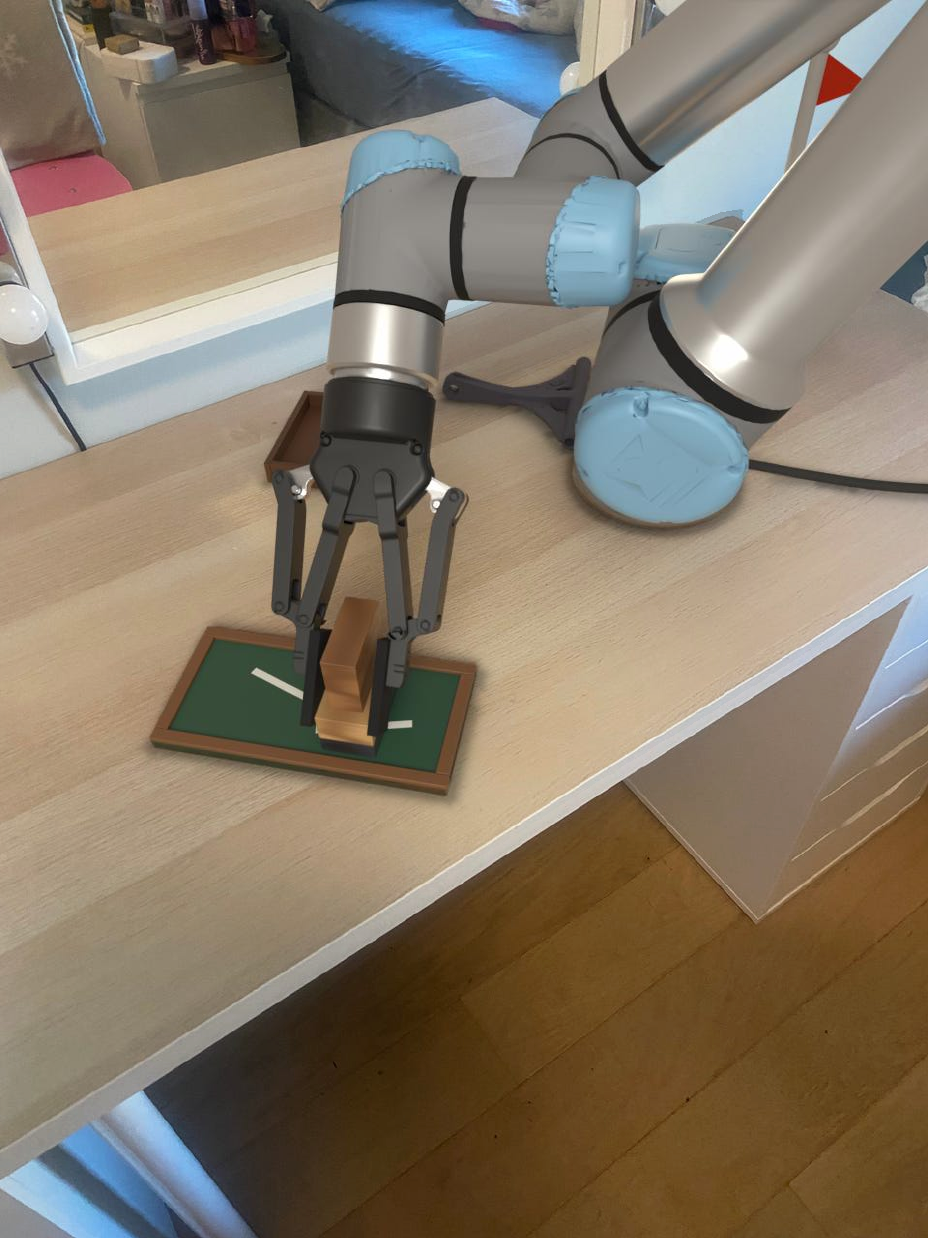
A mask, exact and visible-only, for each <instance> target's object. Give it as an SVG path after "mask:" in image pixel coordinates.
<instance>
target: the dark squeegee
mask: <svg viewBox="0 0 928 1238" xmlns="http://www.w3.org/2000/svg"><path fill="white" fill-rule="evenodd" d="M591 368H592V361H591V359H590V358H589V357H587V356H580V357H579V358H577V360H576V362H575V364H571V365H570V366H569V367H568V368H567V369H566V370H565V371H563V372H561V373H560V374H558V375H556V376H554V377H553V378H550V379H548V380H545V381H542V382H539V383H537V384H530V385H523V386H508V385H502V384H498V383H493V382H489V381H486V380H483V379H479V378H476V377H473V376H469V375H467V374H464V373H462V372H460V371H459V372H458V371H452V372H450V373H449V374H447V375H446V377H445V378H444V381H443V384H442V389H441V391H442V393H443V395H444V396H445V397H446V398H448V399H450V400H452V401H457V402H468V403H469V402H470V403H480V404H488V405H489V404H491V405H502V406H511V407H512V406H513V407H521V408H524V409H526V410H528V411H530V412H532V413H534V414H535V415H537V417H539V418H540V419H541V420H542V421H544V423H545V424H547V426H548V427H549V428H550V429H551V431H552V433H553V434H554V436H555V438H556V439H557V441H558V442H561V446H562V447H563V448H564V449H565V450H568V451H569V450H570V451H571V450H572V451H573V450H574V441H575V421H576V418H577V415H578V413H579V411H580V409H581V408H582V406H583V402H584V399H585V395H586V391H587V388H588V384H589V380H590V376H591V370H592V369H591ZM453 386H454V387H453ZM561 411H566V413H564V412H561Z"/></svg>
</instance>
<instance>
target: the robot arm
mask: <svg viewBox="0 0 928 1238" xmlns="http://www.w3.org/2000/svg"><path fill="white" fill-rule="evenodd" d="M892 1H893V0H684V1H683V2H682V3H681V4H679V5H677V7H676V8H675V9H673V10H672V11H671V12H670V13H669V14H668V15H666V16H665V17H664V18H662V20H661V21H659V22H658V23H657V24H656V25H655V26H653V27H652V28H651V29H650V30H649V31H648V32H647V33H646V34H644V35H643V36H642V37H641V38H640V39H639V40H637V41H636V42H635V43H634V44H633V45H631V46H630V47H629V48H627V50H626V51H624V52H623V53H622V54H621V55H620V56H619V57H617V58H616V59H614V61H613V62H611V63H610V64H609V65H608V66H607V67H606V69H605V70H603V71H602V72H601V73H599V75H597V76H596V77H594V78H592V79H591V80H590V81H589V82H588V83H587V84H586V85H582V86H579V87H576V88H572V89H570V90H568V91H567V92H565V93H563V94H562V95H560V96H559V97H558V98H557V99H556V100H554V102H553V103H552V104H551V105H550V107H549V108H548V109H547V110H546V111H545V112H544V113H542V115H541V116H540V118H539V120H538V123H537V125H536V127H535V128H534V129H533V132H532V135H531V138H530V141H529V144H528V146H527V148H526V150H525V152H524V154H523V156H522V159H521V160H520V162H519V164H518V166H517V167H516V168H517V169H516V171H515V173H514V174H513V176H493V177H490V176H488V177H487V176H486V177H485V176H483V177H482V176H480V177H479V176H476V175H474V176H473V175H469V176H468V175H466V174H463V173H462V172H463V169H462V168H463V167H462V161H461V159H460V158H461V157H460V156H459V154H458V152H456V150H455V149H454V148H453V147H452V146H450V145H449V144H448V143H446V142H445V141H443V140H441V139H440V138H437V137H435V136H433V135H430V134H418V133H414V132H412V131H411V130H409V129H384V130H379V131H376V132H373V133H371V134H368V135H366V136H365V137H363V138H362V139H361V140H360V141H359V142H358V143H357V144H356V145H355V146H354V149H353V150H352V153H351V155H350V160H349V167H348V173H347V177H346V183H345V190H344V196H343V199H342V202H341V204H340V215H339V218H340V229H339V230H340V231H339V241H338V253H337V254H338V255H337V267H336V275H335V276H336V278H335V287H334V288H335V289H334V297H333V304H332V313H331V320H330V330H329V339H328V345H327V346H328V347H327V356H326V357H327V358H326V365H325V369H326V370H327V372H328V373H329V374H330V375H331V376H333V378H330V379H328V381H327V383H325V384H324V386H323V392H324V394H323V404H322V413H321V423H320V435H319V445H318V448H317V450H316V452H315V453H314V455H313V456H312V458H311V460H310V464H309V465H306V466H303V467H300V468H296V469H293V470H290V471H284V470H281V469H278V470H276V471H274V472H273V473H272V476H271V481H272V483H271V485H272V488H273V493H274V496H275V499H276V503H277V510H276V511H277V513H276V515H277V516H276V527H275V541H274V542H275V543H274V558H273V570H272V571H273V573H272V587H271V588H272V589H271V604H270V608H271V611H272V613H273V614H274V615H275V616H281V617H283V618H285V619H287V620H288V621H290V622H292V624H293V625H294V627H295V639H296V640H295V650H294V651H295V652H294V659H293V669H294V672H295V674H302V675H305V681H304V691H303V700H302V709H301V719H300V726H307V727H312V726H314V725H316V722H315V715H316V712H317V710H318V707H319V704H320V702H321V699H322V696H323V694H324V691H325V684H324V680H323V675H322V671H321V666H320V660H321V658H322V655H323V653H324V650H325V648H326V645H327V642H328V640H329V637H330V635H331V632H332V630H333V628H331V629H330V628H324V627H322V628H321V626H323V625H325V624H326V622H327V621H328V620H327V619H325V616H326V613H327V610H328V607H329V605H330V600H331V597H332V594H333V592H334V588H335V584H336V581H337V578H338V576H339V571H340V569H341V565H342V562H343V559H344V556H345V552H346V549H347V546H348V544H349V540H350V537H352V534H353V533H354V531H355V527H356V524H357V523H358V524H361V523H367V522H369V523H372V524H374V525H377V530H378V536H379V539H380V544H381V553H382V565H383V566H382V567H383V578H384V588H385V599H386V601H385V602H386V611H387V622H388V623H387V624H388V632H386V636H384V637H385V638H381V639H377V647H376V656H375V665H374V674H373V683H372V692H371V702H370V711H369V720H368V729H367V736H373V737H379V736H380V735H381V734H383V733H384V732H386V731H387V730H388V722H389V713H390V704H391V695H392V687H396V688H400V687H402V686H404V685H405V683H406V681H407V679H408V673H409V664H410V655H411V654H412V646H413V642H414V640H415V639H416V638H417V637H421V636H425V635H429V634H432V633H435V632H438V631H439V630H440V629H441V628H442V627H441V626H442V621H443V615H444V608H445V602H446V595H447V589H448V582H449V575H450V571H451V570H450V569H451V564H452V563H451V562H452V556H453V550H454V543H455V538H456V537H455V536H456V530H457V525H458V523H459V521H460V519H461V517H462V515H463V514H464V512H465V510H466V508H467V507H468V506H469V502H470V498H469V497H470V496H469V495H468V494H467V493H466V492H465V491H464V490H462V489H461V488H459V487H456V486H453V487H452V486H450V485H449V484H447V483H445V482H443V481H441V480H439V479H438V478H436V472H435V470H434V467H433V465H432V461H431V450H432V441H433V440H432V439H433V432H434V423H435V415H436V414H435V413H436V406H437V405H436V404H437V399H436V398H435V397H434V394H433V393H432V392H431V391H429V390H431V389H433V388H434V387H436V386H437V385H438V383H439V377H440V368H441V358H442V349H443V342H444V333H445V332H444V331H445V325H446V317H447V316H446V311H447V308H448V304H449V301H465V302H487V303H503V304H515V305H516V304H517V305H530V306H544V307H555V308H556V307H557V308H560V309H567V310H572V309H578V308H581V307H608V310H607V316H606V320H605V324H604V327H603V330H602V335H601V338H600V343H599V346H598V349H597V352H596V356H595V358H594V362H593V365H592V369H591V372H590V376H589V381H588V387H587V391H586V395H585V399H584V402H583V406H582V408H581V409H580V411H579V413H578V415H577V418H576V421H575V441H574V449H573V462H572V463H573V464H572V479H573V483H574V486H575V488H576V490H577V492H578V494H579V495H580V496H581V498H582V499H583V500H584V502H586V503H587V504H588V505H589V506H590V507H591V508H593V509H594V510H595V511H596V512H598V513H600V514H601V515H603V516H605V517H606V518H609V519H611V520H613V521H616V522H617V523H621V524H623V525H627V526H631V527H635V528H639V529H646V530H653V531H655V530H656V531H668V530H673V531H674V530H680V529H681V530H682V529H687V528H692V527H695V526H698V525H701V524H704V523H707V522H708V521H711V520H712V519H714V518H716V517H717V516H719V514H721V513H723V512H724V511H725V510H726V508H727V507H729V505H730V504H731V502H732V501H733V499H734V498H735V497H736V495H737V494H738V493H739V491H740V489H741V487H742V485H743V482H744V480H745V477H746V475H747V474H748V471H749V470H751V471H757V472H764V473H769V474H775V475H779V476H784V477H788V478H789V477H790V478H795V479H802V480H808V481H813V482H820V483H825V484H830V485H837V486H844V487H848V488H849V487H851V488H856V489H857V488H858V489H865V490H872V491H873V490H874V491H883V492H892V493H893V492H895V493H905V494H925V495H928V483H919V482H918V483H917V482H904V481H903V482H902V481H892V480H891V481H889V480H881V479H870V478H863V477H854V476H847V475H841V474H835V473H831V472H829V473H828V472H823V471H819V470H818V471H817V470H812V469H806V468H800V467H793V466H788V465H785V464H784V465H783V464H780V463H779V464H778V463H773V462H768V461H762V460H756V459H750V455H749V452H750V450H751V448H752V447H753V446H754V445H755V444H756V443H757V442H758V440H760V439H761V438H762V437H763V436H764V435H765V434H766V433H767V432H768V431H769V430H770V429H771V428H772V427H773V426H775V425H776V424H777V423H778V422H779V421H780V420H781V419H782V418H783V417H784V416H785V415H786V414H787V413H788V412H789V411H790V410H792V408H793V407H794V406H795V405H796V404H798V402H799V401H800V400H801V399H802V398H803V396H804V395H805V394H804V393H805V391H806V370H805V369H806V368H805V366H806V362H807V360H809V358H810V357H812V356H813V354H815V353H816V352H817V351H818V349H819V348H821V347H822V345H824V344H825V343H826V342H827V341H828V340H829V338H831V337H832V336H833V335H834V334H835V333H836V332H837V331H838V330H839V329H840V328H841V327H842V326H843V325H844V324H845V323H846V322H847V321H848V320H849V319H850V318H851V317H852V316H853V315H854V314H856V312H857V311H858V310H859V309H860V308H861V307H862V306H863V305H864V304H865V303H866V302H867V301H868V300H869V299H870V298H871V297H873V295H874V294H876V292H878V290H880V288H882V286H883V285H884V284H885V283H886V282H888V280H890V278H892V276H894V274H896V273H897V272H898V270H900V269H901V268H902V267H903V266H904V265H905V264H906V262H908V261H909V260H910V259H911V257H913V256H914V255H915V254H916V253H917V252H918V251H919V250H920V249H921V248H922V247H923V246H924V245H925V244H926V243H927V242H928V0H925V1H924V2H923V3H922V5H921V6H920V7H919V8H918V10H917V11H916V12H915V13H914V15H913V16H912V17H911V19H910V20H909V21H908V22H907V23H906V25H904V27H903V28H902V30H901V31H900V32H899V33H898V34H897V35H896V36H895V38H894V39H893V41H891V43H890V44H889V45H888V46H887V48H886V49H885V50H884V51H883V53H881V55H880V56H879V58H878V59H877V60H876V61H875V63H874V64H873V65H872V66H871V68H870V69H869V70H868V71H867V73H865V75H864V76H863V77H862V80H861V81H860V82H859V84H858V85H857V86H856V87H855V88H854V90H853V91H852V92H851V93H850V94H848V96H847V97H846V98H845V100H844V101H843V102H842V103H841V104H840V105H839V107H838V108H837V109H836V110H835V112H834V113H833V114H832V115H831V117H830V118H829V119H828V120H827V122H826V123H825V124H824V125H823V127H822V128H821V129H820V130H819V131H818V132H817V134H816V135H815V136H814V137H813V138H812V139H811V141H810V143H809V144H808V145H806V147H805V150H804V151H803V152H802V154H801V155H800V156H799V157H798V158H797V160H796V161H795V162H794V163H793V165H792V166H791V167H790V168H789V170H788V171H787V172H786V173H785V174H784V176H783V175H782V177H781V178H780V179H779V181H778V182H777V183H776V184H775V185H774V186H773V187H772V189H771V190H770V192H768V194H767V195H766V196H765V198H764V199H763V200H762V202H760V204H759V205H758V206H757V207H756V209H755V210H754V211H753V212H752V214H751V215H750V216H749V217H748V219H747V220H746V221H745V222H744V224H743V225H742V226H741V227H740V228H739V229H738V230H733V229H730V228H726V227H721V226H717V225H711V224H704V223H694V222H667V223H658V224H652V225H651V224H650V225H646V226H642V227H641V212H642V211H641V209H642V208H641V205H642V204H641V193H640V191H639V190H638V187H639V186H641V185H642V184H643V183H644V182H646V181H647V180H649V179H650V178H651V177H652V176H654V175H655V174H656V173H658V172H660V171H661V170H662V169H663V168H665V167H666V165H668V164H670V162H672V161H674V160H675V159H676V158H677V157H678V156H680V155H681V154H683V153H684V152H685V151H687V150H689V149H690V148H691V147H692V146H694V145H695V144H696V143H698V142H699V141H701V140H702V139H703V138H705V137H706V136H708V135H710V134H711V133H712V132H713V131H715V130H716V129H717V128H718V127H720V126H721V125H723V124H724V123H725V122H727V121H728V120H729V119H731V118H733V116H735V115H736V114H738V113H740V112H741V111H742V110H743V109H745V108H746V107H748V106H749V105H750V104H752V103H753V102H754V101H755V100H757V99H758V98H760V97H761V96H763V95H764V94H765V93H767V92H768V91H770V90H771V89H772V88H774V87H775V86H776V85H777V84H779V83H780V82H782V81H783V80H784V79H786V78H788V76H790V75H791V74H793V73H795V71H797V70H798V69H799V68H801V67H802V66H805V64H807V63H809V62H810V59H812V58H813V57H815V56H816V55H817V54H819V53H820V52H821V51H823V50H824V49H826V48H827V47H828V46H830V45H831V44H832V43H834V42H835V41H837V40H838V39H839V38H840V39H841V38H842V37H844V36H845V35H846V34H847V33H849V32H850V31H852V30H853V29H855V28H856V27H857V26H859V25H860V24H862V23H863V22H864V21H865V20H867V19H869V18H870V17H871V16H872V15H874V14H876V13H877V12H878V11H879V10H880V9H882V8H883V7H885V6H886V5H888V4H889V3H890V2H892ZM314 481H315V482H316V484H317V486H318V488H317V489H319V491H320V493H321V495H322V497H323V498H324V500H325V503H326V504H327V506H326V509H325V512H324V514H323V519H322V523H321V528H322V530H321V533H320V537H319V540H318V543H317V546H316V550H315V553H314V556H313V560H312V562H311V566H310V569H309V573H308V576H307V579H306V582H305V585H304V589H303V591H302V586H303V585H302V584H303V573H304V571H303V570H304V558H305V557H304V556H305V543H306V526H307V501H306V500H308V499H309V498H311V497H310V496H311V494H312V487H311V486H312V484H313V482H314ZM427 493H428V494H429V496H430V501H429V509H430V511H431V512H432V513H433V514H434V515H433V519H432V522H431V526H430V532H429V538H428V545H427V552H426V558H425V565H424V573H423V578H422V584H421V585H422V586H421V591H420V598H419V604H418V605H419V606H418V612H417V617H416V618H415V616H414V604H413V594H412V593H413V592H412V582H411V571H410V569H411V568H410V559H409V547H408V539H409V529H408V517H407V516H408V515H409V514H410V513H411V512H412V510H414V508H415V507H416V506H417V505H418V504H419V503H420V501H422V499H423V498H424V497H425V496H426V494H427ZM411 656H412V655H411Z"/></svg>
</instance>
